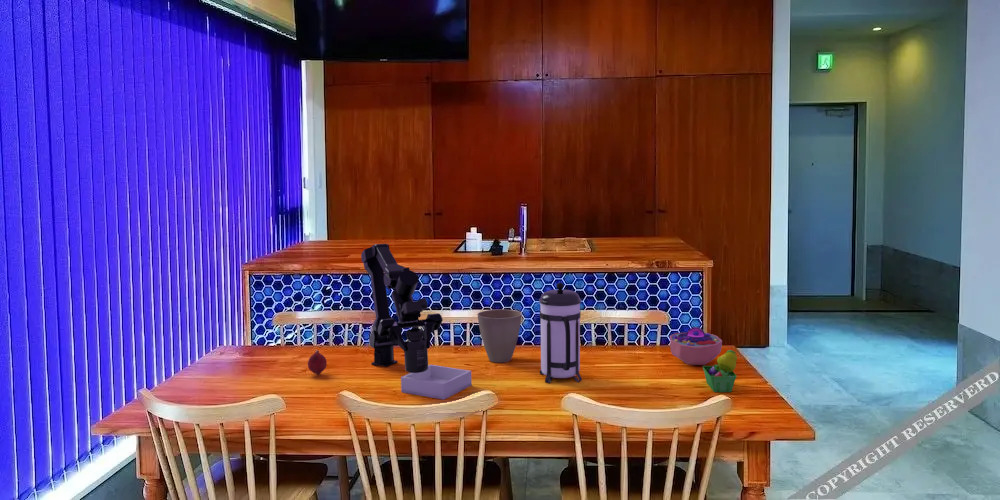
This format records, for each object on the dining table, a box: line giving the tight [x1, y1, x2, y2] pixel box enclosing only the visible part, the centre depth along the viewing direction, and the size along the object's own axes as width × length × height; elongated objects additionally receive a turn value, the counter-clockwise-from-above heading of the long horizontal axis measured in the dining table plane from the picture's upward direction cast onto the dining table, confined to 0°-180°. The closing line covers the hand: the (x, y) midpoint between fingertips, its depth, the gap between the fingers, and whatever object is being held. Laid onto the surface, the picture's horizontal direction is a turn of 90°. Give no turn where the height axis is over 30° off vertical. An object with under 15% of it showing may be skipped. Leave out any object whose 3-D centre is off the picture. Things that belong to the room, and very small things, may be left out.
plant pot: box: [477, 309, 523, 363], centre depth 258 cm, size 15×15×16 cm
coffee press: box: [538, 282, 583, 384], centre depth 234 cm, size 17×16×30 cm
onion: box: [307, 349, 328, 376], centre depth 244 cm, size 6×6×8 cm
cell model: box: [669, 326, 723, 366], centre depth 251 cm, size 17×20×11 cm
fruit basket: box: [702, 349, 738, 393], centre depth 225 cm, size 11×9×11 cm
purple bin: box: [400, 364, 472, 400], centre depth 228 cm, size 15×15×4 cm
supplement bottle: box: [403, 328, 429, 374], centre depth 224 cm, size 7×7×12 cm
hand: (417, 349), depth 223 cm, fingers closed on supplement bottle, 7 cm apart
